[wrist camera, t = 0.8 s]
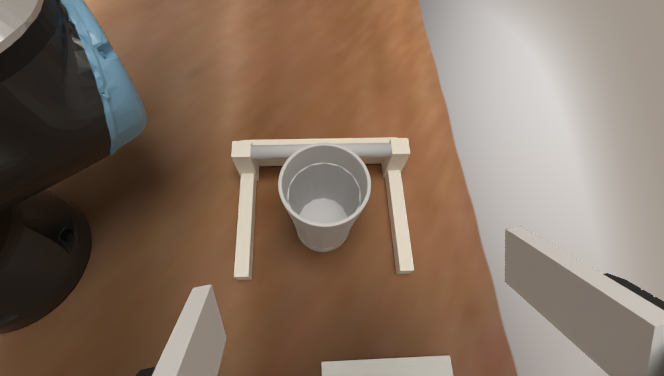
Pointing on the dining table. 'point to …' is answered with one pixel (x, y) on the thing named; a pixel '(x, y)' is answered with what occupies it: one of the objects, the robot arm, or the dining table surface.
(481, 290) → the dining table surface
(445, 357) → the mat
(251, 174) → the dispenser bay
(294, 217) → the cup
